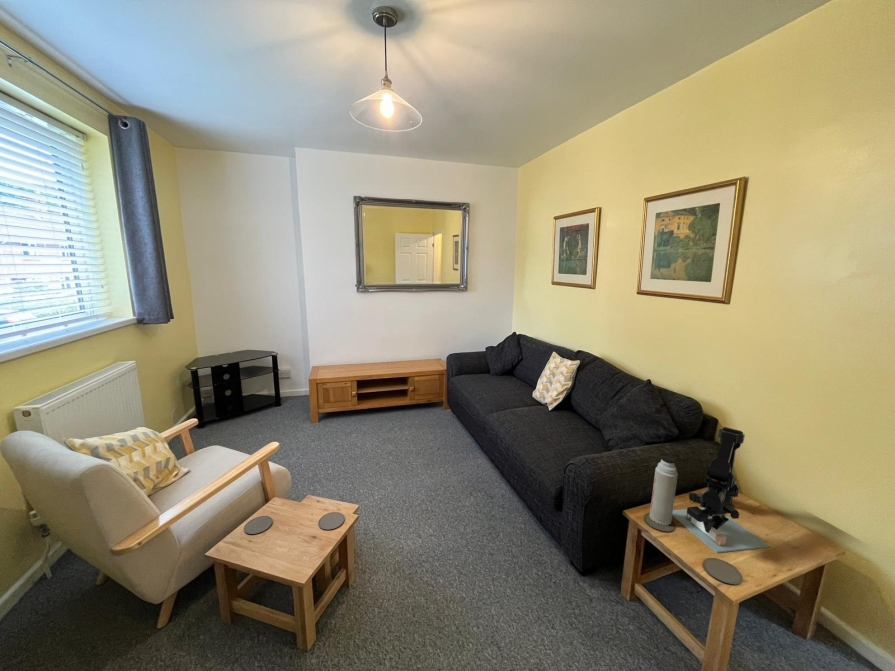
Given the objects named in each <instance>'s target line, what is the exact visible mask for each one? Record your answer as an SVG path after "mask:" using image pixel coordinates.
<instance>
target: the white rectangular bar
mask: <svg viewBox="0 0 895 671" xmlns="http://www.w3.org/2000/svg"><path fill="white" fill-rule="evenodd" d="M691 522H692V523H693V524H694V525H695V526H697V527H698V528H699V529H700V530H702V531H703V532H704V533H705V534H707V535H708V536H709V537H710V538H712V539H713V540H714V541H715V542H716V543H718V544H719V545H725V542H726V537H725V536H724V535H723V534H721V533H720V532H718V531H717V530H716V529H715V528H713V527H712V528H711V530H710V531H709V533H707V532H706V531H705V528H704V524H703V522H699V521H697V520H696V519H694V518H693V517H692V519H691Z"/></svg>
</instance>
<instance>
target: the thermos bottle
mask: <svg viewBox="0 0 895 671" xmlns="http://www.w3.org/2000/svg"><path fill="white" fill-rule="evenodd" d="M675 463H676V460H675V458H673V457H672V456H671V457H670V456H666V455H662V456H661V459H660V461H659V462H658V463H657V466H656V467H655V470H654V479H653V484H652V485H653V487H652V493H651V494H652V495H651V502H650V509H649V518H650V520H651V521H653V522H654V521H655V522H654V523H656V524H658V523H659V524H658V525H661V524H662V526H670V525H671V524H672V520H673V519H672V518H673V516H672V512H673V510H674V504H675V497H676V490H677V482H678V475H679V474H678V472H677V467H676V465H675ZM669 524H670V525H669Z"/></svg>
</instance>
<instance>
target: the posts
mask: <svg viewBox="0 0 895 671" xmlns="http://www.w3.org/2000/svg"><path fill="white" fill-rule="evenodd" d="M685 519H687V520H689V521H691V519H692V516H690V515H689V514H688V513H687V510H686V515H685Z"/></svg>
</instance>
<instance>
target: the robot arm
mask: <svg viewBox="0 0 895 671" xmlns="http://www.w3.org/2000/svg"><path fill="white" fill-rule="evenodd" d="M745 436H746V435H745V434H744V432H743V431H742V430H738V429H735V428H730V427H727V426H724V427H722V428H719V429H718V434H717V438H719V443H720V444H719V446H718V450H717V453H716V457H715V458H714V459H711V460H710V463H709V464H708V465H707V467H706V471H705V474H704V479H703V483H705V484H707V487H706V488H705V489H704V491H703V493H701V492H700V493H695V492H689V494H688V499H689V501H691V502H692V503H697V504H699V505H700V507H698V506H695V505H694V506H689V507H687V508H686V509H687V513H688V514H689V515H690V516H692V517H693V518H694V519H696V520H697V521H699V522H703V524H704V528H705V531H706V532H707V533H709V531H710V530H711V528H712V527H713V528H715V529H716V530H717V529H718V528H719V527H720V526H722V525H723V524H724V523H725V522H727V521H729V519H728V518H726V516H727V514H729V515H730V518H731V519H732V520H734V519H735V520H736V519H737V520H738V519H739V518H740V512H739V511H738V510H737V508H733V507H735V506H734V504H732V503H733V499H734V498H737V497H739V492H740V491H739V486H738V484H737V478H736V477H735V475H734V467H735V466H734V465H735V461H736V460H735V459H736V452H737V450H738V449H739V448H741V445H742V444H744V441H745ZM700 508H705V509H702V510H701V509H700Z"/></svg>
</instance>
